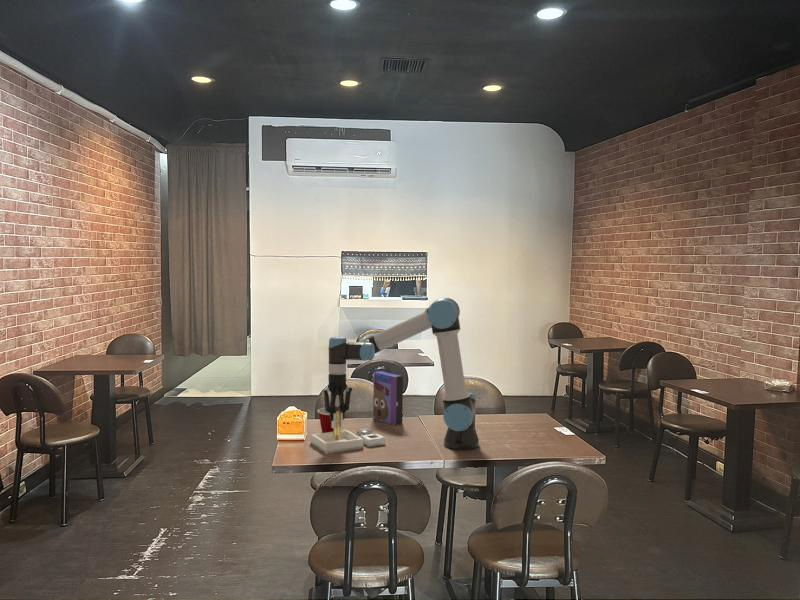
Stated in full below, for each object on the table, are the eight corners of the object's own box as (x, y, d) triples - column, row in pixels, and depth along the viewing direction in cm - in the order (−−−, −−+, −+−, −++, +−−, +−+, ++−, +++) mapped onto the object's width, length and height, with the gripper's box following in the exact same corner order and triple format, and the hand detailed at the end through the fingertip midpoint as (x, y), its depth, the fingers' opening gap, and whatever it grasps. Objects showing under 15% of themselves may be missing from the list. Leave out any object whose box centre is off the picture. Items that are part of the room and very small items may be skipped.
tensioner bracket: (385, 444, 267) (385, 436, 267) (368, 446, 263) (368, 438, 263) (368, 435, 281) (368, 428, 281) (352, 437, 277) (352, 430, 277)
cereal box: (373, 418, 314) (373, 371, 313) (380, 417, 317) (380, 371, 316) (394, 425, 300) (395, 376, 299) (402, 424, 303) (402, 375, 302)
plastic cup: (323, 440, 272) (324, 413, 272) (313, 434, 281) (313, 408, 281) (345, 437, 278) (345, 410, 278) (334, 431, 287) (334, 406, 287)
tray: (363, 448, 261) (363, 439, 260) (326, 453, 252) (326, 444, 252) (346, 438, 275) (346, 429, 275) (310, 443, 267) (311, 434, 267)
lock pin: (342, 439, 263) (342, 406, 262) (334, 440, 261) (335, 407, 261) (338, 437, 266) (339, 404, 265) (331, 438, 264) (331, 405, 264)
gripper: (350, 370, 269) (349, 423, 271) (316, 373, 262) (316, 427, 263) (357, 373, 263) (357, 427, 264) (323, 375, 255) (323, 431, 256)
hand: (337, 427), depth 263 cm, fingers closed on lock pin, 2 cm apart
